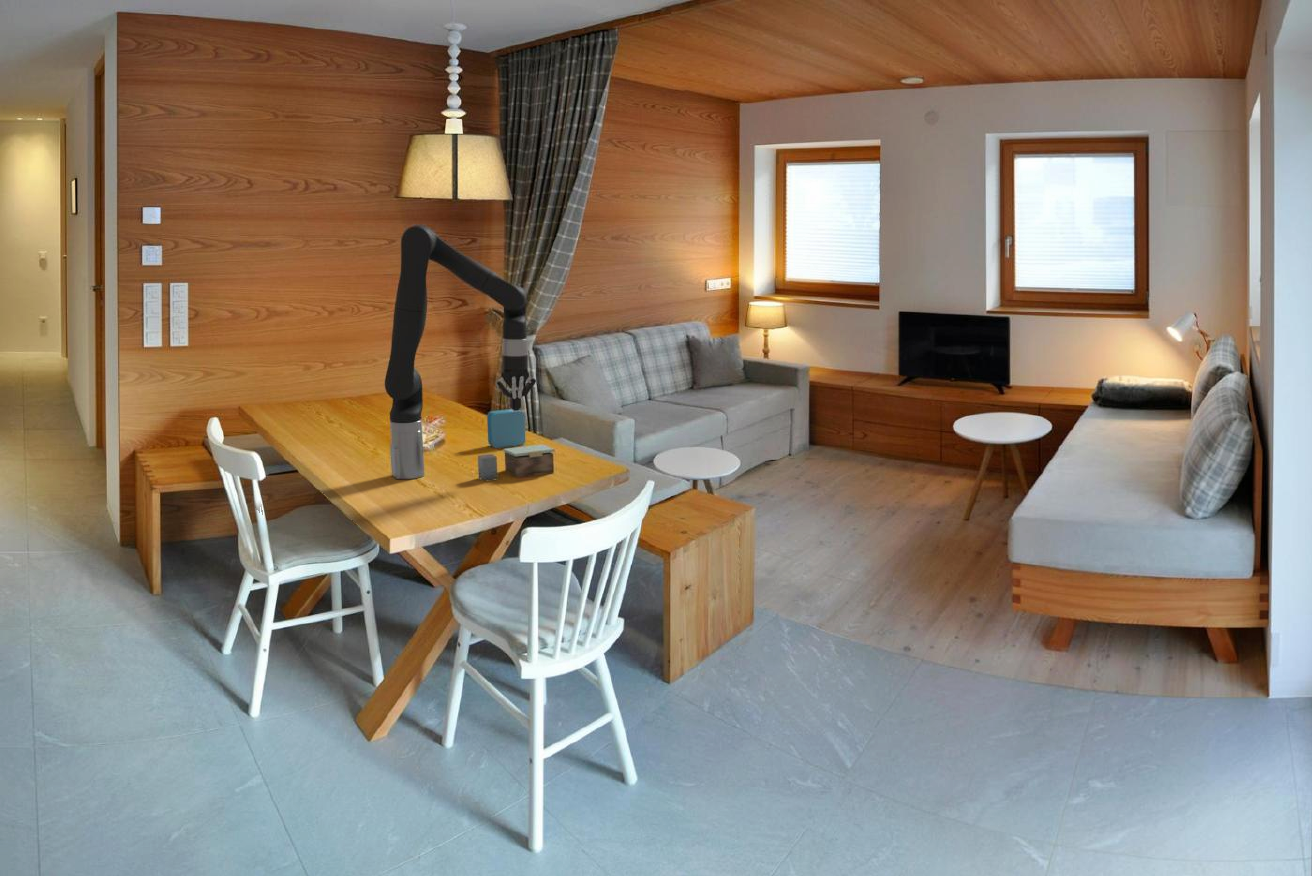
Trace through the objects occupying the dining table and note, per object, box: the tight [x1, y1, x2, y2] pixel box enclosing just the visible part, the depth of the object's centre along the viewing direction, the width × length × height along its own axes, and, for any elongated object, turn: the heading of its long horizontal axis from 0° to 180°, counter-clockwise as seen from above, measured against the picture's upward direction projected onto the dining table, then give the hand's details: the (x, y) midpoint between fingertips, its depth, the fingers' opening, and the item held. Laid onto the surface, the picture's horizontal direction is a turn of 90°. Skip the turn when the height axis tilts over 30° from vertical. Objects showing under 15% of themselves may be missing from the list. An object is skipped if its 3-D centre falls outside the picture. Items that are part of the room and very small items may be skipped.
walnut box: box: [504, 452, 555, 479], centre depth 323 cm, size 12×10×6 cm
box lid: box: [502, 443, 556, 457], centre depth 321 cm, size 13×11×2 cm
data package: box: [486, 408, 527, 449], centre depth 357 cm, size 12×4×12 cm, turn 117°
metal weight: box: [477, 453, 498, 482], centre depth 314 cm, size 4×4×7 cm
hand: (515, 410), depth 316 cm, fingers closed
